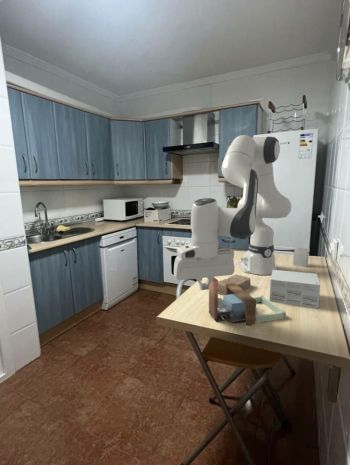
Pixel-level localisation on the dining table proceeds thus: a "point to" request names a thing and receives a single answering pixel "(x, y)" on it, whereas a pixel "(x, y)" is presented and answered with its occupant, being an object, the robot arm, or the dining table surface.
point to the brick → (237, 279)
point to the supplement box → (295, 288)
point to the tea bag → (300, 257)
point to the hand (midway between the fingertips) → (204, 289)
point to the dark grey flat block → (219, 319)
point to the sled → (221, 305)
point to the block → (235, 303)
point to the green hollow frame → (270, 316)
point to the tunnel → (250, 301)
